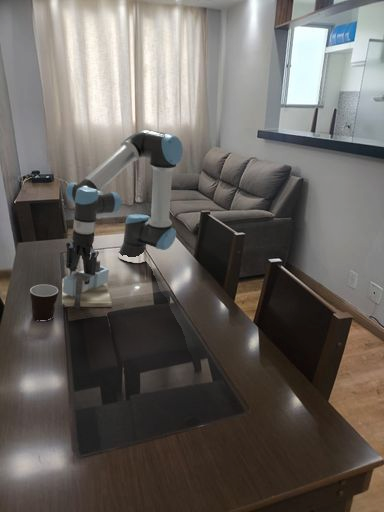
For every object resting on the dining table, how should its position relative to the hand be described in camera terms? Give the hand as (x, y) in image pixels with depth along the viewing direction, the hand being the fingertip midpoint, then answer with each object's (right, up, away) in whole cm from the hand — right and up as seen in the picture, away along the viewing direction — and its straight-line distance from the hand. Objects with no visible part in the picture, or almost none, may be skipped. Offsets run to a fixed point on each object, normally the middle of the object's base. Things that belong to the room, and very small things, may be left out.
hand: (78, 288), depth 138 cm
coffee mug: (-7, -8, -15) cm, 18 cm away
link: (+1, +1, +3) cm, 4 cm away
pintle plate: (+2, -3, +3) cm, 4 cm away
